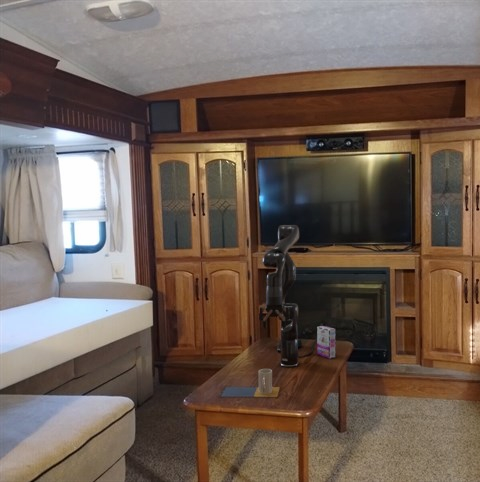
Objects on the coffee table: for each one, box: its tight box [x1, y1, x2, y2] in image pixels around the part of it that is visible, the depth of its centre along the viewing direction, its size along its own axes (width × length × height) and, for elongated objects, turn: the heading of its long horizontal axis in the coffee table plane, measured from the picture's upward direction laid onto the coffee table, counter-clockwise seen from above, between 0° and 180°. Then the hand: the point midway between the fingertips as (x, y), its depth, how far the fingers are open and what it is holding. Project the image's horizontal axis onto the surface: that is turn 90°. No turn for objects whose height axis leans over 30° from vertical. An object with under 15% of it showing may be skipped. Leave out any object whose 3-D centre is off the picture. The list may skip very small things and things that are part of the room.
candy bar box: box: [316, 325, 337, 360], centre depth 250 cm, size 11×5×16 cm, turn 41°
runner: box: [220, 386, 281, 398], centre depth 197 cm, size 11×25×1 cm, turn 90°
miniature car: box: [276, 338, 303, 352], centre depth 263 cm, size 9×18×8 cm, turn 156°
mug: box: [257, 368, 273, 394], centre depth 196 cm, size 9×6×10 cm
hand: (274, 328), depth 208 cm, fingers open, 8 cm apart
